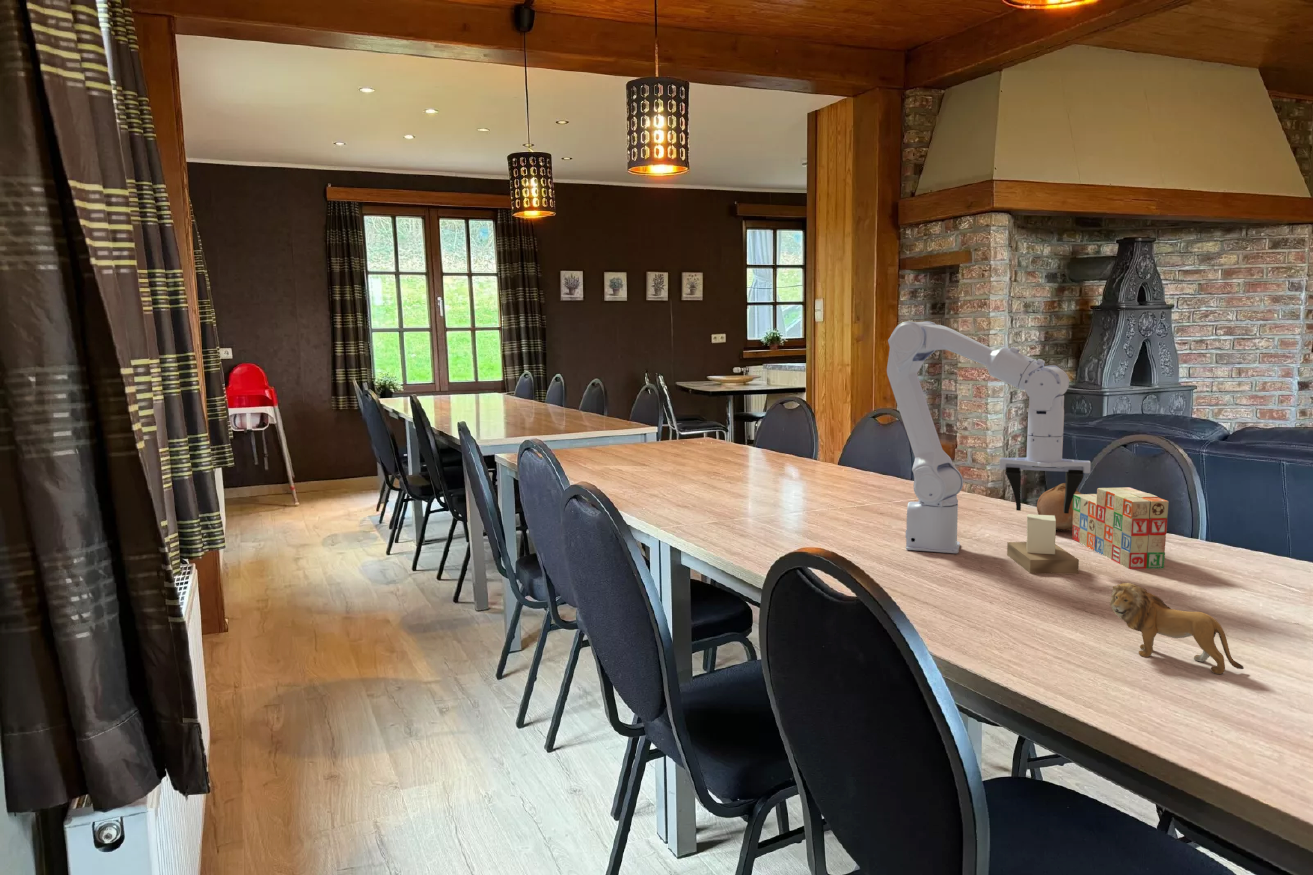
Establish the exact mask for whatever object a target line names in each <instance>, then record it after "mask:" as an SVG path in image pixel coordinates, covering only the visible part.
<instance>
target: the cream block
mask: <svg viewBox="0 0 1313 875" xmlns="http://www.w3.org/2000/svg"><path fill="white" fill-rule="evenodd" d="M1056 535H1057V533H1056V520H1055V516H1054V515H1038V514H1026V542H1027V553H1041V554H1055V544H1056Z"/></svg>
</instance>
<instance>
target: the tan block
mask: <svg viewBox="0 0 1313 875" xmlns="http://www.w3.org/2000/svg"><path fill="white" fill-rule="evenodd" d="M1006 548H1007V549H1006V556H1008V558H1009V559H1011V560H1013V561H1014V562H1015V563H1016V564H1017V565H1019V566H1020V567H1021V568H1022V569H1024V570H1025V571H1026V572H1027V573H1028V574H1032V575H1033V574H1034V575H1035V574H1036V575H1037V574H1038V575H1039V574H1040V575H1041V574H1048V575H1049V574H1053V575H1055V574H1059V575H1061V574H1063V575H1064V574H1065V575H1067V574H1068V575H1069V574H1074V575H1075V574H1076V575H1078V574H1079V565H1080V559H1078V558H1077V557H1075V556H1074V555H1073V554H1071V553H1069V552H1068V551H1067V550H1065V549H1064V548H1062V547H1060V546H1058V545H1057V544H1056V543H1055V554H1041V553H1027V541H1007V546H1006Z"/></svg>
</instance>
